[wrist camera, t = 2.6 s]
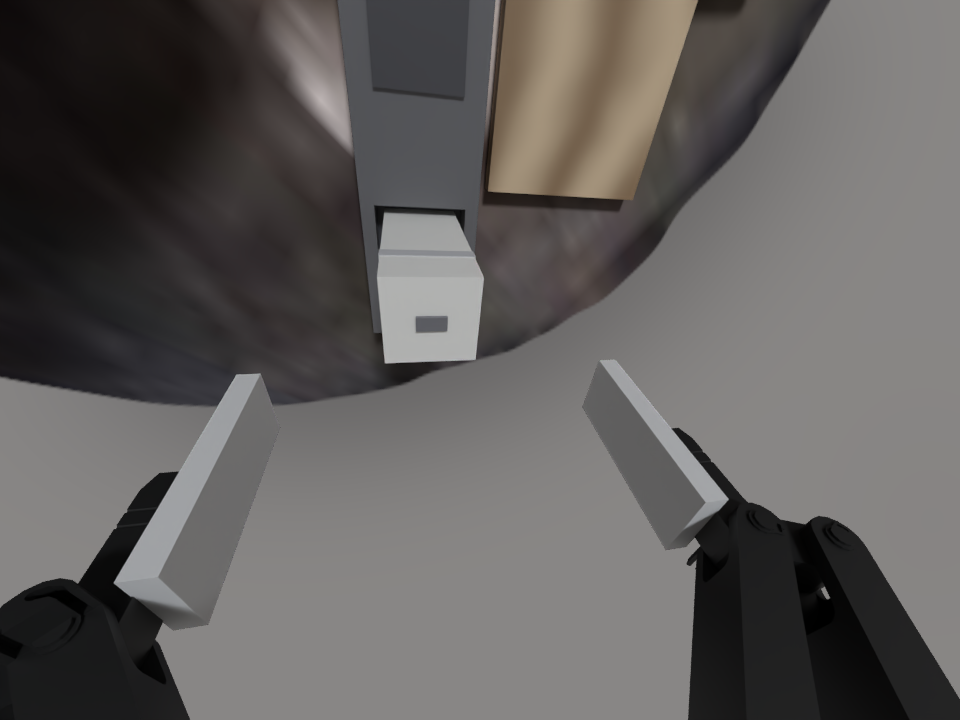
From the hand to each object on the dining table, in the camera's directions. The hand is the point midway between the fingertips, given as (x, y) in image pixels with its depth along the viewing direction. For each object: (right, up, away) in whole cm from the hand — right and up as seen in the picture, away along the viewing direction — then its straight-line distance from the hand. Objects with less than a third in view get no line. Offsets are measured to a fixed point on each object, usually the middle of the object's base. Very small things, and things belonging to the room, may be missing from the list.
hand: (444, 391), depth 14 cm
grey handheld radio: (-3, +18, +9) cm, 20 cm away
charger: (-3, +10, +13) cm, 17 cm away
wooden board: (+8, +20, +10) cm, 23 cm away
